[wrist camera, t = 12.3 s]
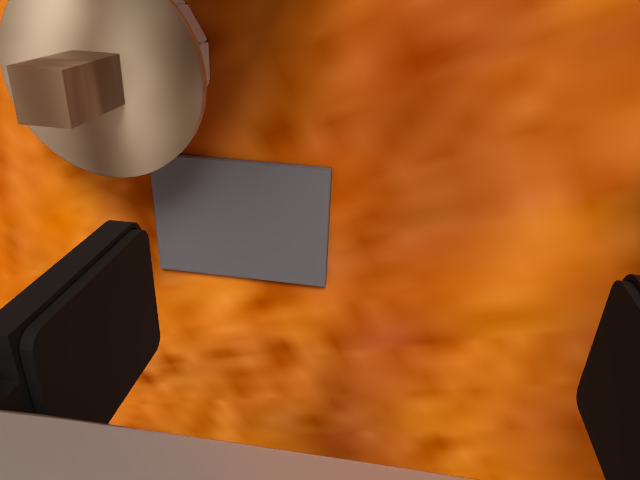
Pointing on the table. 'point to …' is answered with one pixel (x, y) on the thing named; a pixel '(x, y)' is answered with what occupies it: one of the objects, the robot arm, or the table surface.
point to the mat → (243, 218)
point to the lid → (105, 80)
